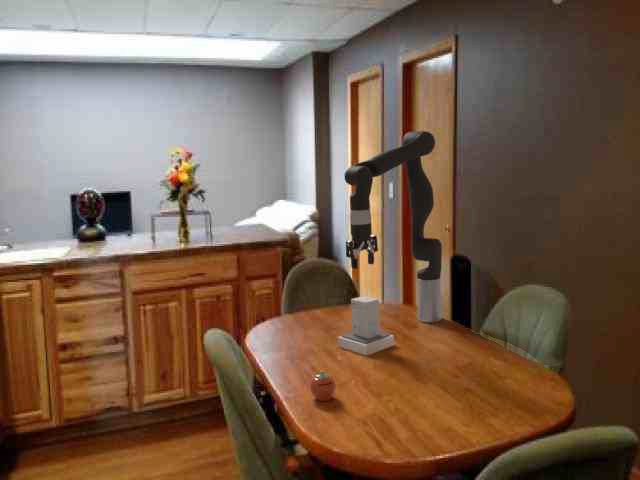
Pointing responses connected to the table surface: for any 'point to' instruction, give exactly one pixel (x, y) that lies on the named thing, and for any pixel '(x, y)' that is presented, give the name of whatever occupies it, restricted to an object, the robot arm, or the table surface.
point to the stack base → (365, 343)
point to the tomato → (322, 387)
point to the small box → (365, 317)
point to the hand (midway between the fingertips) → (362, 266)
